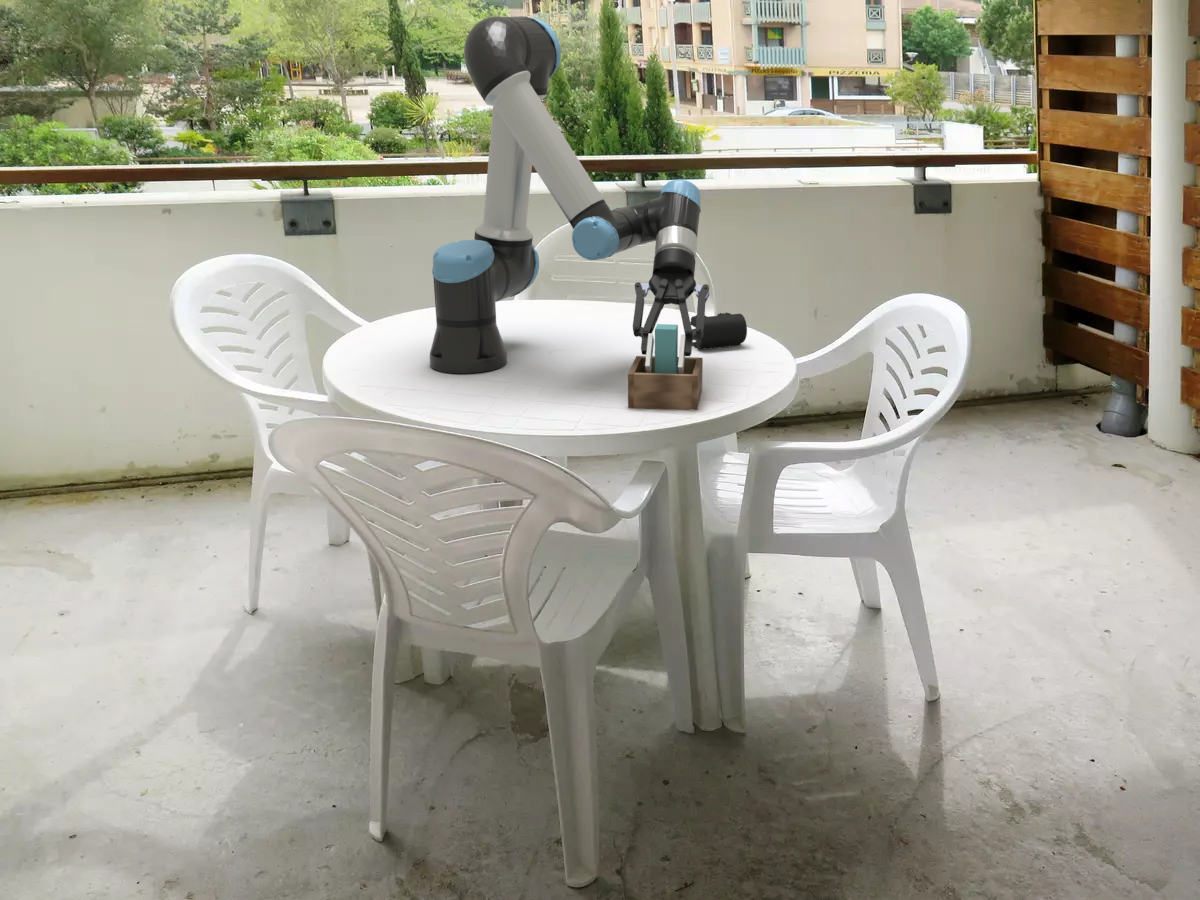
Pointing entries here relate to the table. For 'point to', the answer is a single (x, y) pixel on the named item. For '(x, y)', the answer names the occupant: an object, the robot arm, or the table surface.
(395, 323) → the table surface
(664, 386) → the box
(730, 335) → the end cap
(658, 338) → the peg
